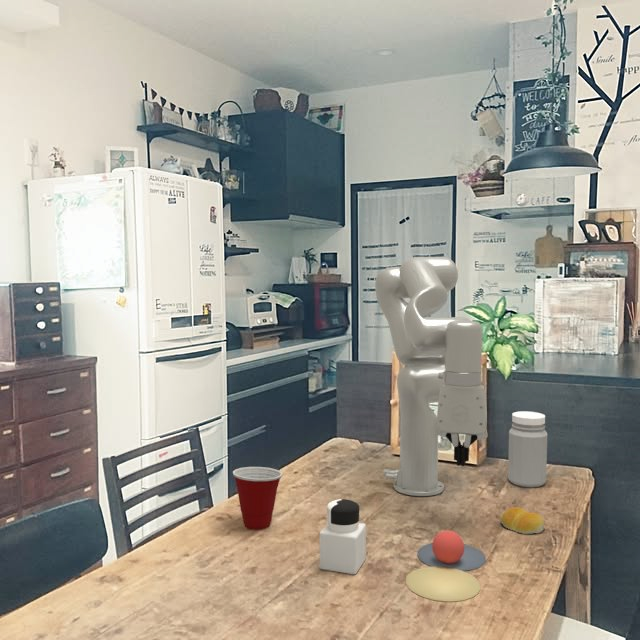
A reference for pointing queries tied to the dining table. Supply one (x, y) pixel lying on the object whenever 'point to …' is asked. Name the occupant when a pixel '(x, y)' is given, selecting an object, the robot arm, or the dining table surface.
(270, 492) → the plastic cup
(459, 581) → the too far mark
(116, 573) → the dining table surface
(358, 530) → the medicine bottle
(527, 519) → the bread roll
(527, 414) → the jar
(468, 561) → the smooth gray rounded object
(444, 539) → the ball
